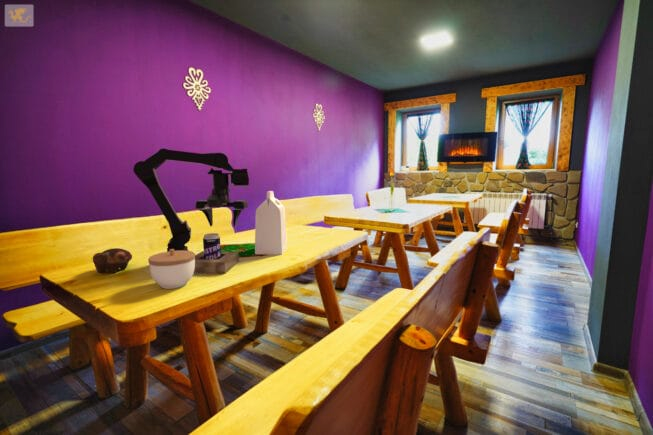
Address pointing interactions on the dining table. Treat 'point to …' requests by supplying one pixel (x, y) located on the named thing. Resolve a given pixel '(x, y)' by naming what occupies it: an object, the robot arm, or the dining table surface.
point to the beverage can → (212, 246)
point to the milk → (270, 227)
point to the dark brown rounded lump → (111, 260)
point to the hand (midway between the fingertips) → (222, 226)
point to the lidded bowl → (172, 268)
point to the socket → (216, 263)
